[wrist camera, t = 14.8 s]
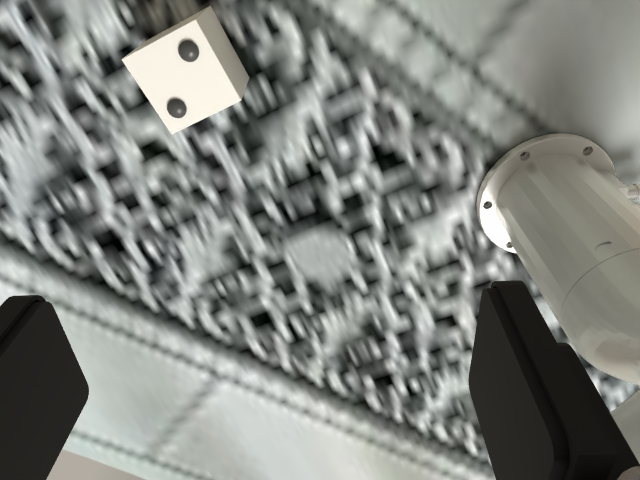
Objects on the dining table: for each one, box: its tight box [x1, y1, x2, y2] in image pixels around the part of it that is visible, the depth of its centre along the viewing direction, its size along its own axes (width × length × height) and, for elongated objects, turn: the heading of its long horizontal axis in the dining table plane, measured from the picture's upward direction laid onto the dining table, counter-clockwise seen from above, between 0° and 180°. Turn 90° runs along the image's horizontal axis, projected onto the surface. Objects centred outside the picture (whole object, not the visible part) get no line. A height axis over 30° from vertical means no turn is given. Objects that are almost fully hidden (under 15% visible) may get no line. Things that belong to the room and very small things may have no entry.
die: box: [122, 6, 249, 134], centre depth 37 cm, size 6×6×6 cm
